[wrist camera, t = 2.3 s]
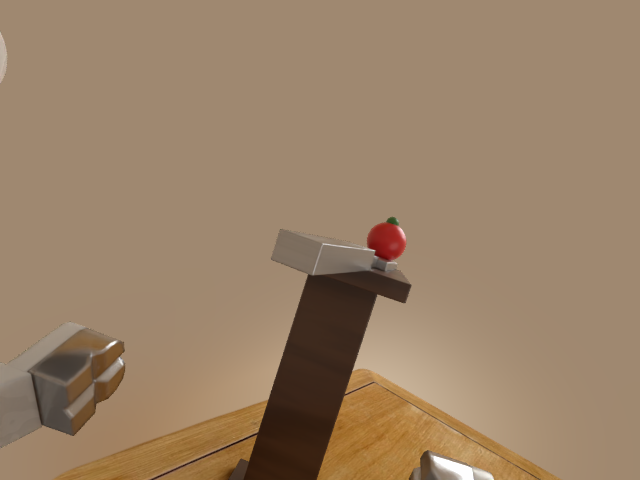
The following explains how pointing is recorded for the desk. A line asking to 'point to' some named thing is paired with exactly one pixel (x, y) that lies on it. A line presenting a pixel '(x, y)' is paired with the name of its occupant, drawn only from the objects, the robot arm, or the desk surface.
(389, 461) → the desk surface
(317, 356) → the stand
